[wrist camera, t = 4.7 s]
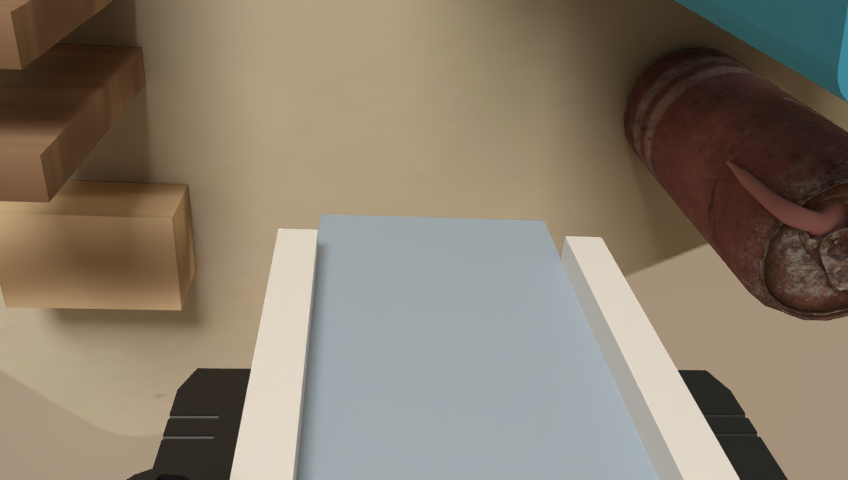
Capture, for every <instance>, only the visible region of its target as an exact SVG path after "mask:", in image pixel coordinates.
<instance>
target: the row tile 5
mask: <svg viewBox="0 0 848 480" xmlns="http://www.w3.org/2000/svg"><path fill="white" fill-rule="evenodd" d="M145 83H146V82H145V73H144V64H143V55H142V48H141V47H123V46H104V45H86V44H67V43H56V44H55V45H54V46H52V47H51V48H50V49H48V50H47V51H46V52H45V53H43V54H42V55H41V56H39V57H38V58H37V59H35V60H34V61H33V62H31V63H30V64H29V65H27V66H26V67H25V68H23V69H22V70H18V69H0V201H11V202H41V203H49V202H50V201H51V200H52V199H53V197H54V196H55V195H56V194H57V192H58V191H59V190H60V189H61V187H62V186H63V185H64V184H65V182H66V181H67V180H68V179H69V177H70V176H71V175H72V174H73V173H74V171H75V170H76V169H77V168H78V166H79V165H80V164H81V163H82V161H83V160H84V159H85V158H86V156H87V155H88V154H89V153H90V151H91V150H92V149H93V148H94V146H95V145H96V144H97V143H98V141H99V140H100V139H101V138H102V136H103V135H104V134H105V133H106V131H107V130H108V129H109V128H110V126H111V125H112V124H113V123H114V121H115V120H116V119H117V118H118V116H119V115H120V114H121V113H122V111H123V110H124V109H125V108H126V107H127V105H128V104H129V103H130V102H131V100H132V99H133V98H134V97H135V95H136V94H137V93H138V92H139V90H140V89H141V88H142V87H143V85H144V84H145Z"/></svg>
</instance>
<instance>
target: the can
mask: <svg viewBox="0 0 848 480" xmlns="http://www.w3.org/2000/svg"><path fill="white" fill-rule="evenodd" d="M624 124H625V134H626V137H627V139H628V141H629V143H630V145H631V147H632V149H633V151H634V152H635V154H636V155H637V156H638V157H639V159H640V160H641V161H642V162H643V163H644V165H645V166H646V167H647V168H648V170H649V171H650V172H651V173H652V174H653V176H654V177H655V178H656V179H657V180H658V182H659V183H660V184H661V185H662V187H663V188H664V189H665V190H666V191H667V193H668V194H669V195H670V196H671V198H672V199H673V200H674V201H675V202H676V204H677V205H678V206H679V207H680V209H681V210H682V211H683V212H684V213H685V215H686V216H687V217H688V218H689V219H690V221H691V222H692V223H693V224H694V226H695V227H696V228H697V229H698V230H699V232H700V233H701V234H702V235H703V237H704V238H705V239H706V240H707V241H708V243H709V244H710V245H711V246H712V248H713V249H714V250H715V251H716V252H717V254H718V255H719V256H720V257H721V258H722V260H723V261H724V262H725V263H726V264H727V266H728V267H729V268H730V269H731V271H732V272H733V273H734V274H735V275H736V277H737V278H738V279H739V280H740V282H741V283H742V284H743V285H744V287H745V288H746V289H747V290H748V291H749V292H750V293H751V294H752V295H753V296H755V298H757V299H758V300H759V301H760V302H761V303H762V304H764V305H765V306H768V307H770V308H773V309H776V310H779V311H782V312H784V313H786V314H789V315H792V316H795V317H798V318H800V319H803V320H832V319H836V318H840V317H845V316H848V132H846V131H845V130H843V129H842V128H840V127H838V126H837V125H835V124H834V123H832V122H831V121H829V120H828V119H826V118H825V117H823V116H821V115H820V114H818V113H817V112H815V111H814V110H812V109H811V108H809V107H808V106H806V105H804V104H803V103H801V102H800V101H798V100H797V99H795V98H794V97H792V96H791V95H789V94H787V93H786V92H784V91H783V90H781V89H780V88H778V87H777V86H775V85H774V84H772V83H770V82H769V81H767V80H766V79H764V78H763V77H761V76H760V75H758V74H756V73H755V72H753V71H752V70H750V69H749V68H747V67H746V66H744V65H743V64H741V63H739V62H738V61H736V60H735V59H733V58H732V57H730V56H728V55H726V54H723V53H721V52H719V51H717V50H714V49H702V48H692V49H688V50H684V51H680V52H676V53H673V54H671V55H669V56H667V57H666V58H664V59H662V60H660V61H659V62H657V63H655V64H654V65H653V66H652V67H651V68H650V69H649V70H648V71H647V72H646V73H645V74H644V75H643V76H642V77H641V78H640V79H639V80H638V82H637V84H636V85H635V87H634V89H633V91H632V92H631V94H630V96H629V98H628V101H627V106H626V110H625V115H624Z"/></svg>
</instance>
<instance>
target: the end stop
mask: <svg viewBox="0 0 848 480" xmlns="http://www.w3.org/2000/svg"><path fill="white" fill-rule="evenodd" d="M195 272H196V271H195V260H194V248H193V237H192V226H191V215H190V204H189V192H188V185H183V184H155V183H127V182H99V181H71V180H67V181H66V182H65V184H64V185H63V186H62V187H61V189H60V190H59V191H58V192H57V194H56V195H55V196H54V197H53V199H52V200H51V201H50V202H49V203H41V202H11V201H0V285H1V289H2V293H3V297H4V301H5V305H6V307H21V308H76V309H131V310H182V308H183V305H184V302H185V300H186V297H187V294H188V291H189V288H190V286H191V283H192V280H193V277H194V274H195Z"/></svg>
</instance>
